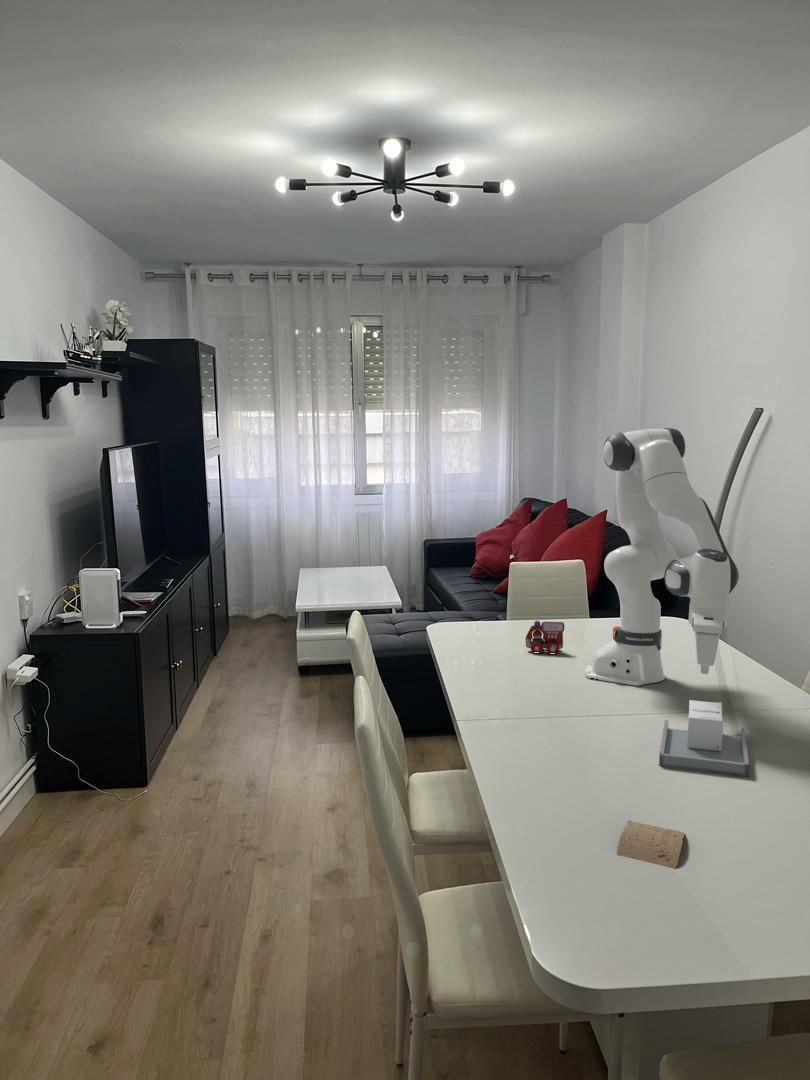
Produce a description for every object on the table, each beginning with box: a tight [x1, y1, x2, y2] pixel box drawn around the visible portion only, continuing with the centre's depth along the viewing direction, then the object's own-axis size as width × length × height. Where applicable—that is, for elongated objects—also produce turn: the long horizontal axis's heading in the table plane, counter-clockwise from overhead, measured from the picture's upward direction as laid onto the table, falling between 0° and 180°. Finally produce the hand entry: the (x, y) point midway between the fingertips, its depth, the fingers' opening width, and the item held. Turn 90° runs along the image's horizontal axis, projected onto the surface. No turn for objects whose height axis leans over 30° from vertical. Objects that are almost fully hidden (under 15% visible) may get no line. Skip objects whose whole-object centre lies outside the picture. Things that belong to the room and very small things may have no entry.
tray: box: [658, 719, 750, 778], centre depth 177 cm, size 18×22×2 cm
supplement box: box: [687, 699, 724, 752], centre depth 182 cm, size 7×7×13 cm
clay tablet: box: [616, 819, 686, 870], centre depth 138 cm, size 14×10×3 cm
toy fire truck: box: [525, 620, 565, 654], centre depth 258 cm, size 7×12×10 cm, turn 75°
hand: (704, 672), depth 194 cm, fingers closed
